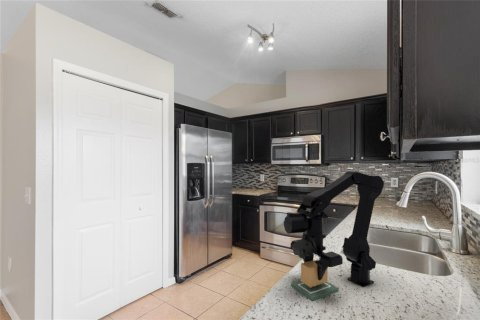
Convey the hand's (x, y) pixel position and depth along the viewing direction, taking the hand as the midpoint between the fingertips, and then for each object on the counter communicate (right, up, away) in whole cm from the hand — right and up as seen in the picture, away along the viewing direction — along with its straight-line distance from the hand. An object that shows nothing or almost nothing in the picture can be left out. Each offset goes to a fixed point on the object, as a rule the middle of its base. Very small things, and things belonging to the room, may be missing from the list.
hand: (314, 276), depth 79 cm
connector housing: (0, -2, 0) cm, 2 cm away
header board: (0, -4, 0) cm, 4 cm away
